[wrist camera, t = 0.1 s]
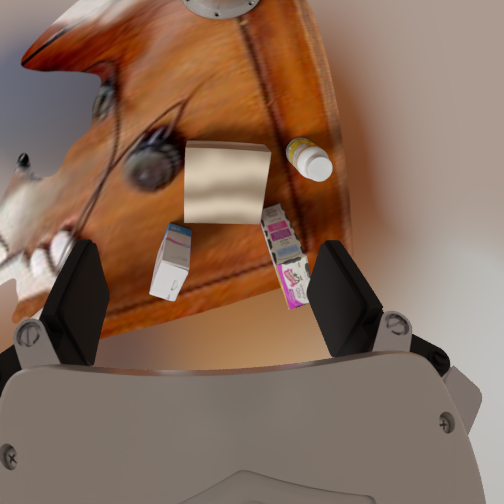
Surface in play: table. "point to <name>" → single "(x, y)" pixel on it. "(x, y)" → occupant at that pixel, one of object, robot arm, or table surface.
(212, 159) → the base block
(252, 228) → the table surface
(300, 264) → the candy bar box
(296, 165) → the supplement bottle
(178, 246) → the ink box
